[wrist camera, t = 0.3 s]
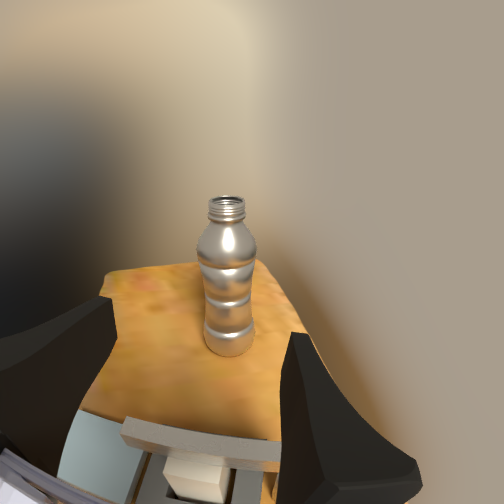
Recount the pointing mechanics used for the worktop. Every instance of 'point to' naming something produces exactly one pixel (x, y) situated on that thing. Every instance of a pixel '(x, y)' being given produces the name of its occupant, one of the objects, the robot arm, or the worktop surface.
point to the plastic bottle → (227, 277)
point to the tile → (100, 459)
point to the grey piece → (203, 447)
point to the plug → (197, 481)
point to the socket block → (162, 500)
